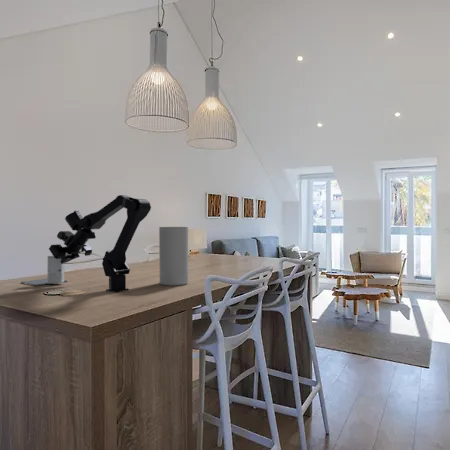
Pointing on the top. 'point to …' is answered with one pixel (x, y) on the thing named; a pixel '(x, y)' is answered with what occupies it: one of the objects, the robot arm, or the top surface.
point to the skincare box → (55, 270)
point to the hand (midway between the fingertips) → (61, 263)
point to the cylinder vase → (173, 255)
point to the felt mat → (39, 282)
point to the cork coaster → (72, 293)
